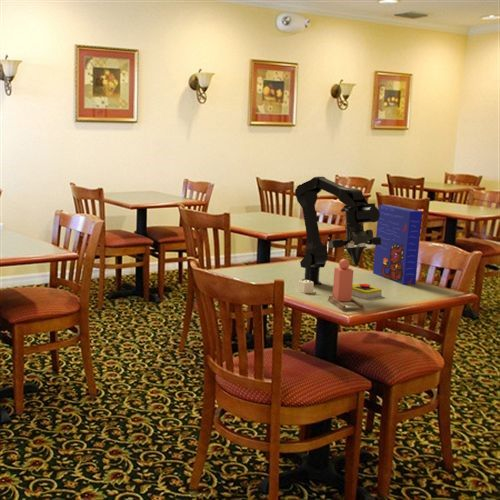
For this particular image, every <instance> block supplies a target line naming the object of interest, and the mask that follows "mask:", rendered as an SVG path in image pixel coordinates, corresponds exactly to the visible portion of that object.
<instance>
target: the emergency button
mask: <svg viewBox="0 0 500 500" xmlns="http://www.w3.org/2000/svg"><path fill="white" fill-rule="evenodd" d="M352 296H353V297H356V298H360V299H364V300H366V301H367V300H368V301H372V300H378V299H383V298H385V296H384V295H382V289H381V288H379V287H374V286H371V285H370V284H368V283H361V282H359V283H352Z"/></svg>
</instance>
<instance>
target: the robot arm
mask: <svg viewBox="0 0 500 500" xmlns="http://www.w3.org/2000/svg"><path fill="white" fill-rule="evenodd" d="M322 190H323V191H324V192H326V193H328V194H330V195H333V196H335V197H336V198H338V201H339V202H341V203H342V204H343V205H344V206H343V207H342V208H341V210H340V213H341V212H343V213H345V231H346V237H345V240H343V239H329V241H328V246H327V244H323V242H322V241H321V236H320V230H319V224H318V223H319V222H318V218H317V210H316V203H317V200H318V194H320V192H322ZM294 193H295V198H296V201H297V203H298V204H299V205H300V206H301V209H302V213H303V220H304V227H305V232H306V233H305V234H306V239H307V244H306V248H305V252H304V254H305V256H304V257H303V258H302V259H301V261H299V264H300V268H303V269H304V278H302V279H301V280H309V281H312V282H314V285H321V284H322V282H321V281H320V268H325V266H326V263H327V261H328V259H329V256H328V255H330V254H329V253H328V248H331V249H335V248H336V249H337V248H343V250H346V252H347V253H348V254H349V256H350V259H351V261H352V263H353V265H354V266H355V267H358V266H359V263H360V260H361V256H362V254H363V252H364V250H365V249H367V248H368V246H371V245H374V246H375V245H381V244H382V240H381V238H380V237H376V236H374V232H373V229H366V230H365V229H364V225H363V224H366V223H368V224H369V223H377V221H378V220H379V217H380V212H379V210H378V207H377V206H376V203H372V202H371V203H369V201H367V199H366V197H365V196H364V194H363V191H362V190H361V189H359V188H353V187H346V186H344V185H341V184H338V183H336V182H334V181H332V180H330V179H328V178H326V177H325V176H314V177H312V178H311V179H309V180H306V181H305V182H302V183H301V184H298V185H297V187H296V188H295V189H294ZM366 245H368V246H366Z"/></svg>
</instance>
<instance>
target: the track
mask: <svg viewBox="0 0 500 500" xmlns="http://www.w3.org/2000/svg"><path fill="white" fill-rule="evenodd" d="M332 296H333V295H328V297H327V302H329V303H331V304H332V305H333V306H335V307H336V308H337V309H339V310H341V312H358V311H359V312H360V311H364V310H365V309H364V305H363V304H362V303H360V302H359V301H358V300H355V299H354V298H352V297H351V301H338V300H336V299H335V298H333V297H332Z"/></svg>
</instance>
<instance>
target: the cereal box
mask: <svg viewBox="0 0 500 500" xmlns="http://www.w3.org/2000/svg"><path fill="white" fill-rule="evenodd" d="M377 209H378V210H379V212H380V217H379V220H378V221H377V222H376V231H375V233H376V234H375V237H380V238H381V240H382V244H381V245H374V246H375V247H374V256H373V268H372V269H373V270H372V274H373V275H377V276H379V277H381V278H384V279H387V280H389V281H392V282H395V283H398V284H401V285H404V286H406V285H416V281H417V271H418V260H419V249H420V241H421V240H420V238H421V230H422V219H423V218H422V217H423V211H420V210H417V209H416V210H415V209H411V208H407V207H401V206H396V205H391V204H379V205H378V207H377Z"/></svg>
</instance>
